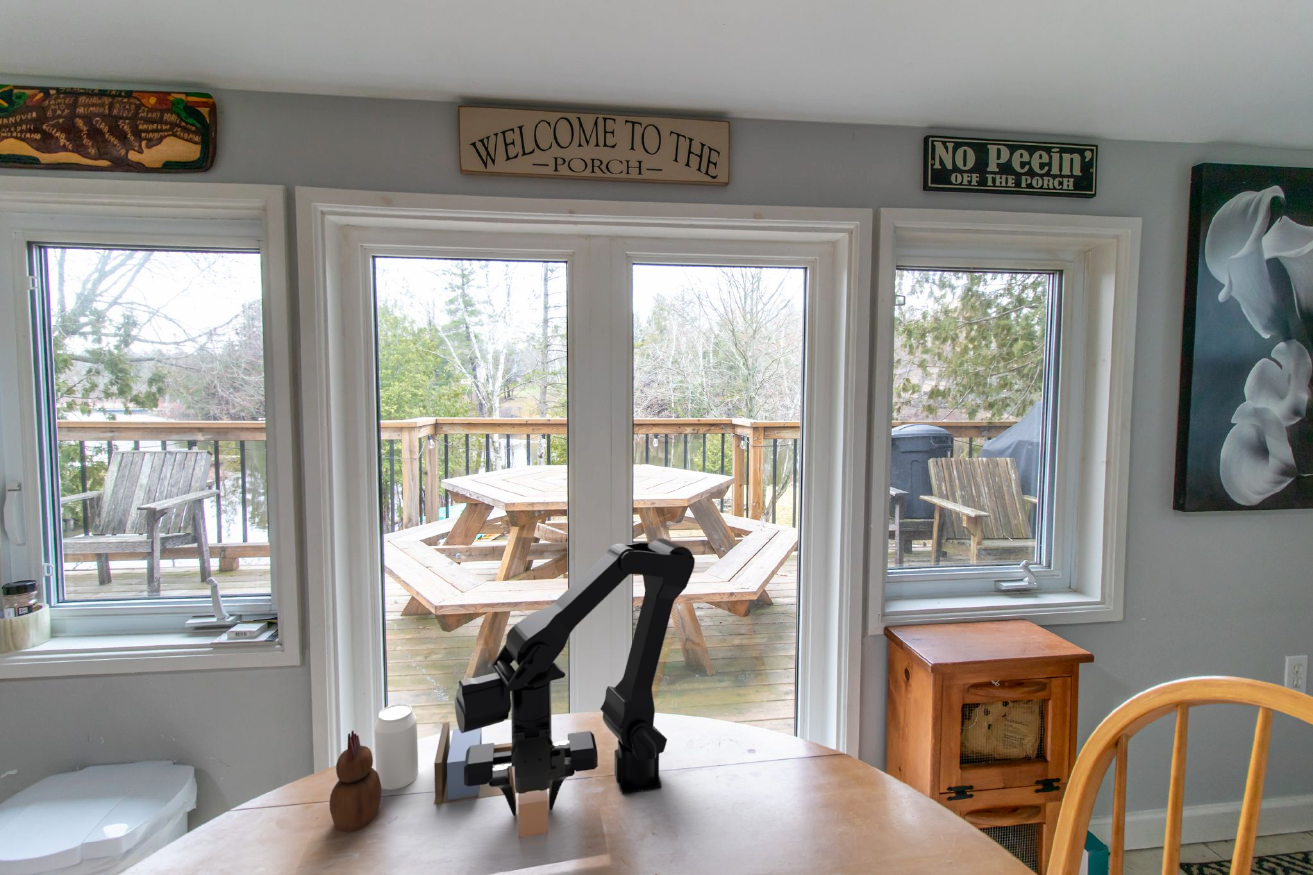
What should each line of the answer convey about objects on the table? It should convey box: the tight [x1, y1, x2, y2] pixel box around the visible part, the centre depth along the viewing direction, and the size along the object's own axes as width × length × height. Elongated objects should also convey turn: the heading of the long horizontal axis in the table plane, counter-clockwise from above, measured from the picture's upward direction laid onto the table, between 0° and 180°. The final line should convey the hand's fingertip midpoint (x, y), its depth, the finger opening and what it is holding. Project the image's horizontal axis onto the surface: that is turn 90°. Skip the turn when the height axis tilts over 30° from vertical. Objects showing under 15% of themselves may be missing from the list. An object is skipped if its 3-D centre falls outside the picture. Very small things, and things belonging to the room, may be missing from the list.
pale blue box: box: [447, 728, 483, 800], centre depth 96 cm, size 4×9×6 cm, turn 13°
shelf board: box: [433, 721, 518, 806], centre depth 98 cm, size 18×11×8 cm, turn 103°
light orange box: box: [517, 789, 549, 838], centre depth 89 cm, size 4×9×6 cm, turn 13°
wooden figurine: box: [329, 730, 382, 833], centre depth 87 cm, size 7×6×15 cm
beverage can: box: [373, 703, 419, 791], centre depth 96 cm, size 6×6×12 cm
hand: (532, 811), depth 89 cm, fingers open, 5 cm apart
